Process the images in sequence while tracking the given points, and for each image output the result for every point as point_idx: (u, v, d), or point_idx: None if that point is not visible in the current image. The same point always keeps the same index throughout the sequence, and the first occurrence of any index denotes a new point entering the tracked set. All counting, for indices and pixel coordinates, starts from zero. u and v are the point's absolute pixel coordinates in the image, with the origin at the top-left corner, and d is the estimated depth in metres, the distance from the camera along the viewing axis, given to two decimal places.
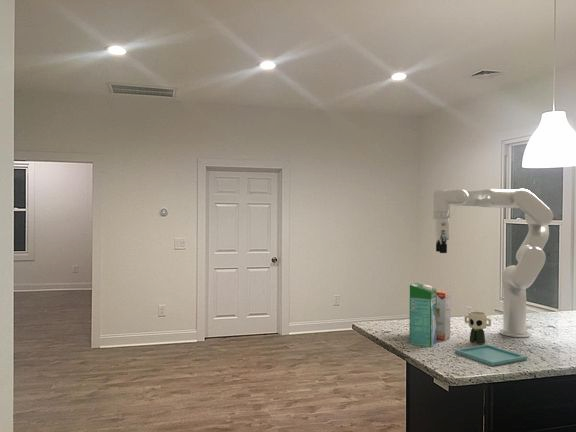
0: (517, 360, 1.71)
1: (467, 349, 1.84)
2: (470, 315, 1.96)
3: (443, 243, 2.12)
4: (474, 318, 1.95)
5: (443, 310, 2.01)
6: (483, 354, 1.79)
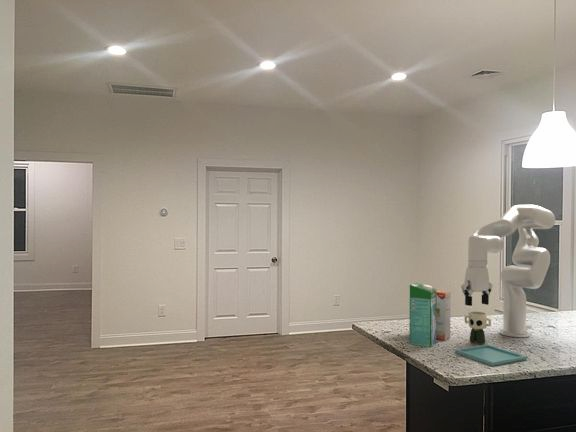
0: (517, 360, 1.71)
1: (467, 349, 1.84)
2: (470, 315, 1.96)
3: None
4: (474, 318, 1.95)
5: (443, 310, 2.01)
6: (483, 354, 1.79)
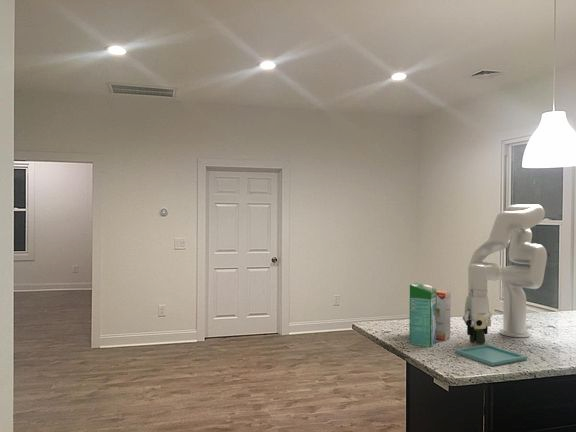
0: (517, 360, 1.71)
1: (467, 349, 1.84)
2: (470, 315, 1.96)
3: None
4: None
5: (443, 310, 2.01)
6: (483, 354, 1.79)
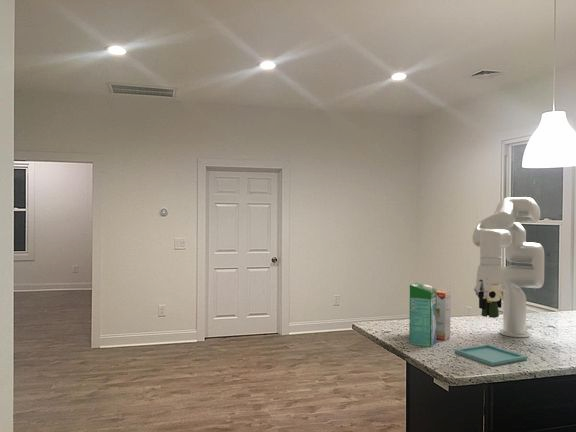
0: (517, 360, 1.71)
1: (467, 349, 1.84)
2: (482, 286, 1.77)
3: None
4: None
5: (443, 310, 2.01)
6: (483, 354, 1.79)
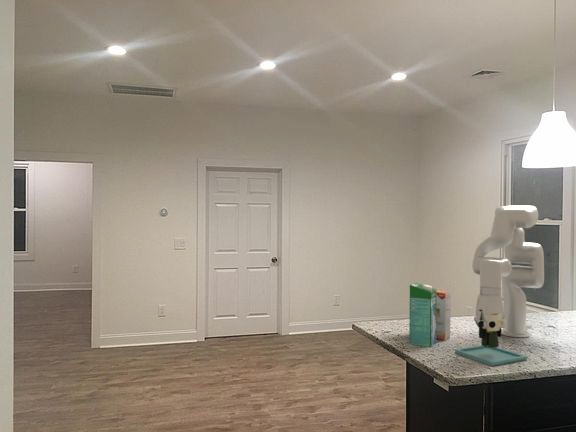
0: (517, 360, 1.71)
1: (467, 349, 1.84)
2: (482, 316, 1.77)
3: None
4: None
5: (443, 310, 2.01)
6: (483, 354, 1.79)
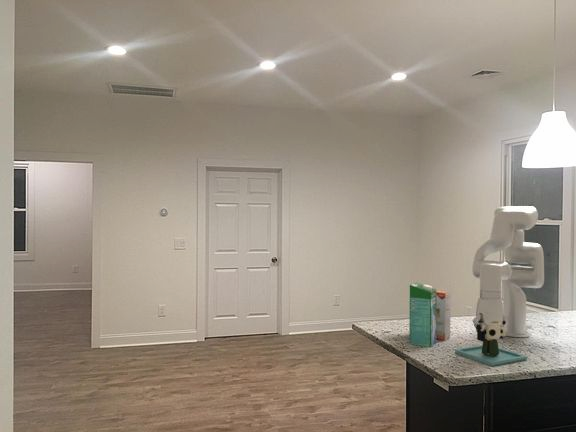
0: (517, 360, 1.71)
1: (467, 349, 1.84)
2: None
3: None
4: (487, 327, 1.76)
5: (443, 310, 2.01)
6: (483, 354, 1.79)
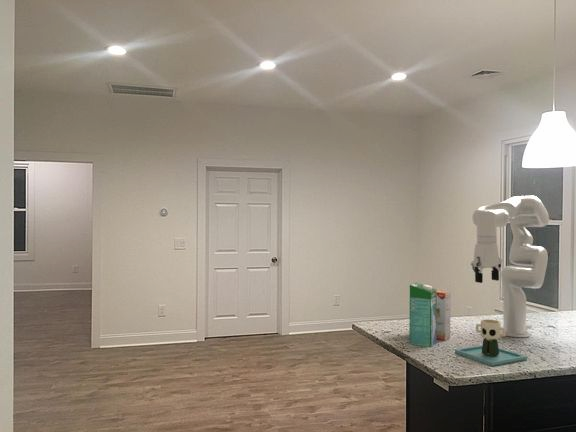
0: (517, 360, 1.71)
1: (467, 349, 1.84)
2: (482, 324, 1.77)
3: None
4: (487, 327, 1.76)
5: (443, 310, 2.01)
6: (483, 354, 1.79)
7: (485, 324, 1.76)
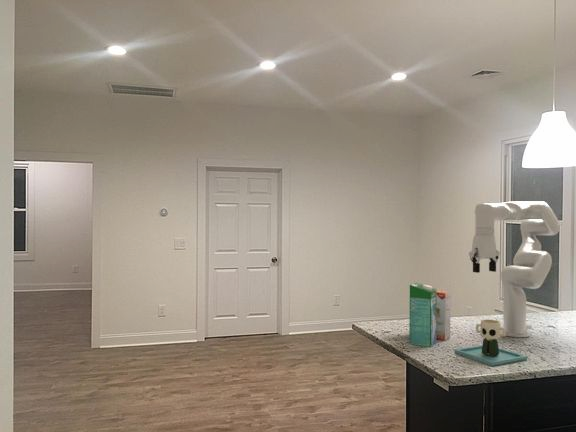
0: (517, 360, 1.71)
1: (467, 349, 1.84)
2: (482, 324, 1.77)
3: None
4: (487, 327, 1.76)
5: (443, 310, 2.01)
6: (483, 354, 1.79)
7: (485, 324, 1.76)
